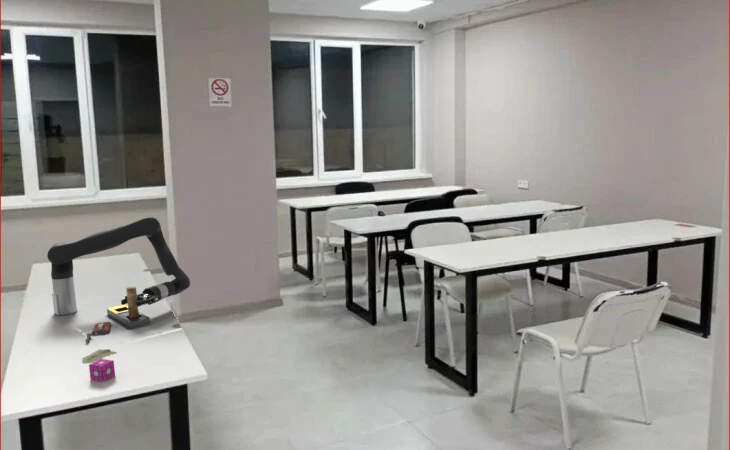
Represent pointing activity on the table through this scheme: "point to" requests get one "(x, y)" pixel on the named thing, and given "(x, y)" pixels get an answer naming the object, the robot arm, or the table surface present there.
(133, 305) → the walnut peg
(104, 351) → the topographic map
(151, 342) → the table surface
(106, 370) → the puzzle toy
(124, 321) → the socket rail
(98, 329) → the walkie-talkie
